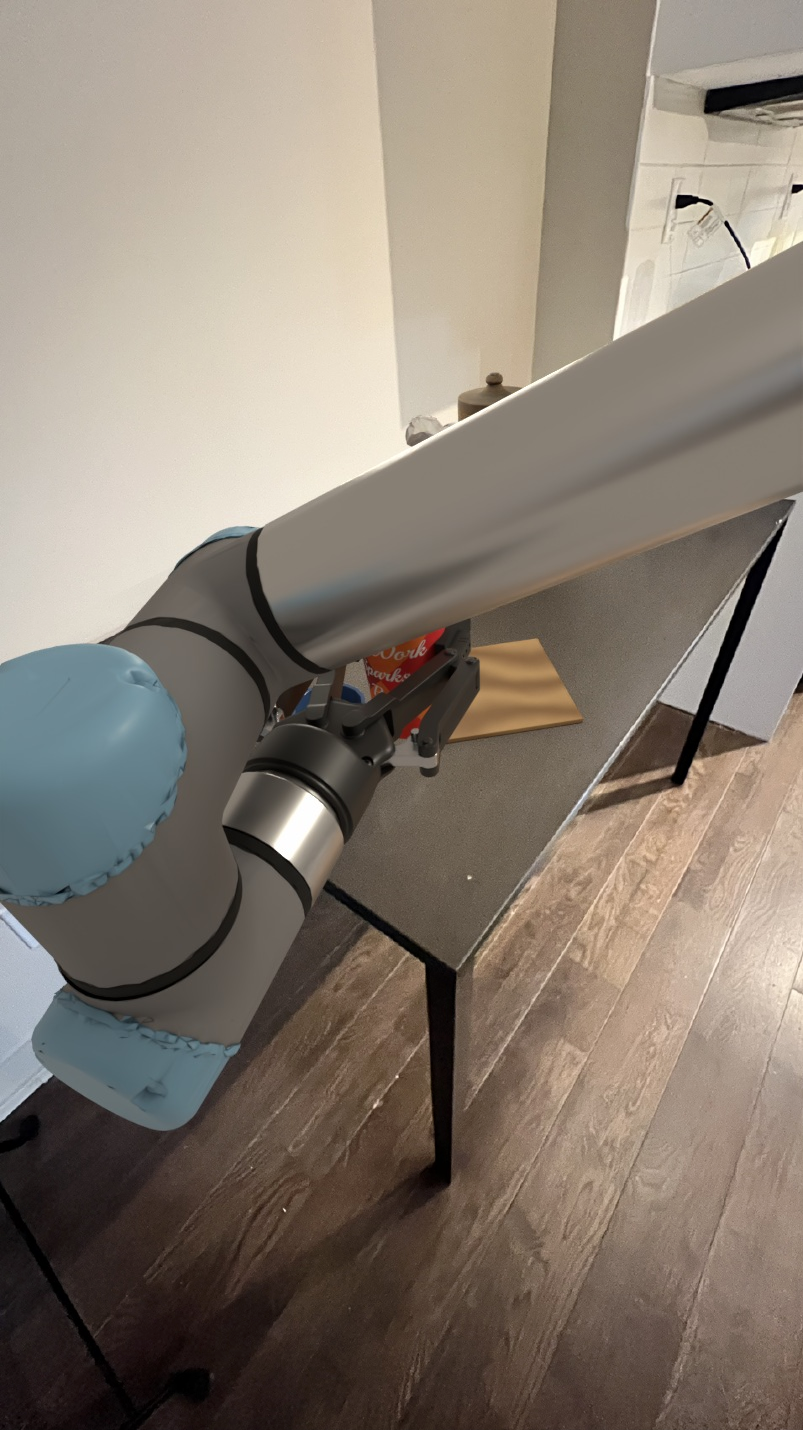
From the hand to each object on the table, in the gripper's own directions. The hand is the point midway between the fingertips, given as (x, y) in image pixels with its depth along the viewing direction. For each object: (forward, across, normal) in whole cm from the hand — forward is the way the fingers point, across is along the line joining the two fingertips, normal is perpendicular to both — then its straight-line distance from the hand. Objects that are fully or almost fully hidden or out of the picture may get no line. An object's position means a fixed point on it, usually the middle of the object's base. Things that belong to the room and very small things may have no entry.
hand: (423, 610), depth 51 cm
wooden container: (+90, -18, -23) cm, 95 cm away
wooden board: (+20, 0, -23) cm, 31 cm away
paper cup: (-5, 0, -8) cm, 9 cm away
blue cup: (+2, -12, -23) cm, 26 cm away
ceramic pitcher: (+54, -11, -23) cm, 60 cm away
